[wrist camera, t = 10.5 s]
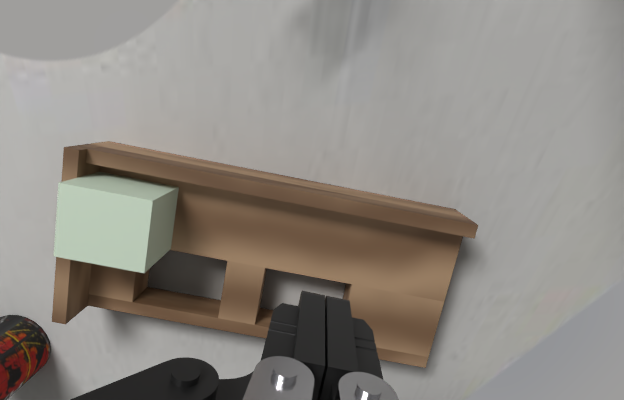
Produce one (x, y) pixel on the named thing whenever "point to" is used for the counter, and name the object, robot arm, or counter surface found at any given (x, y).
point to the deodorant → (20, 352)
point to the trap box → (277, 248)
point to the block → (114, 221)
